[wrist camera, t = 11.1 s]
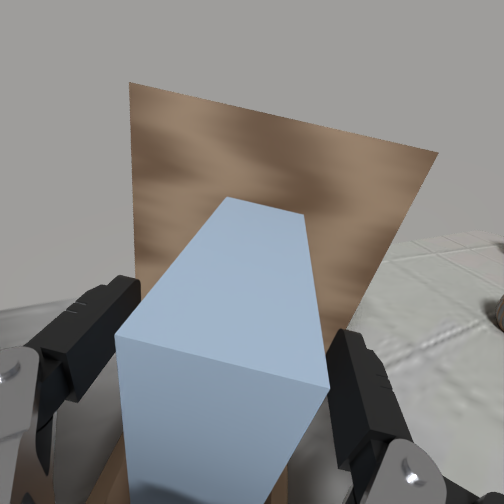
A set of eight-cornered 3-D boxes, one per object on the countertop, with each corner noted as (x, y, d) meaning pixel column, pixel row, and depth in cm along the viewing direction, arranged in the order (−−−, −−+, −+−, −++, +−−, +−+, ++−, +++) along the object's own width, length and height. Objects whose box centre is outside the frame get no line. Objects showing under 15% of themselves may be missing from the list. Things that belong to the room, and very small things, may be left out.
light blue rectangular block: (137, 571, 10) (114, 335, 3) (196, 395, 16) (226, 196, 10) (212, 592, 10) (329, 388, 3) (242, 407, 16) (303, 214, 10)
